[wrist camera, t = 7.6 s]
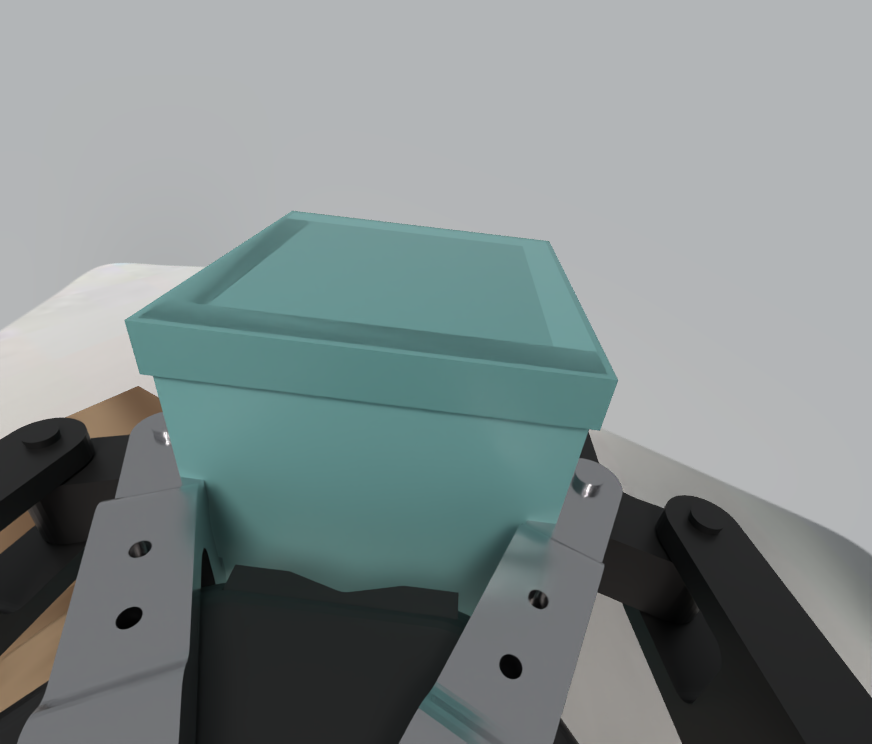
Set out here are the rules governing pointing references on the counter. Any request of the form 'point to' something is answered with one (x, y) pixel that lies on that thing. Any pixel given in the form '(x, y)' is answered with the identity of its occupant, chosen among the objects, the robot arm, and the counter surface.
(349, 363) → the teal lidded bin
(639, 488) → the counter surface
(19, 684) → the wooden crate
